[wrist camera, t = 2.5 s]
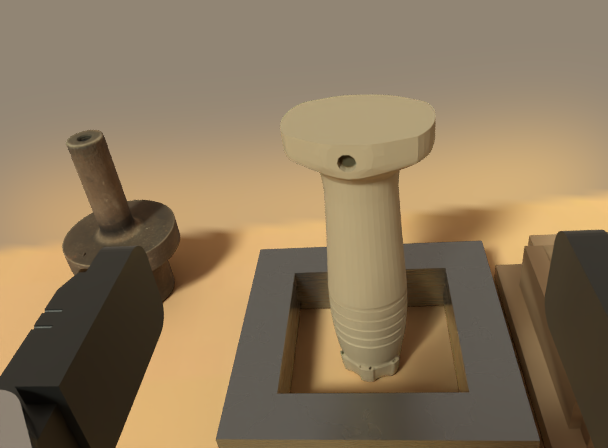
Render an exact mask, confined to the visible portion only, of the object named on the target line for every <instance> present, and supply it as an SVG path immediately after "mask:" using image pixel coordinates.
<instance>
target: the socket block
mask: <svg viewBox="0 0 608 448" xmlns="http://www.w3.org/2000/svg"><path fill="white" fill-rule="evenodd" d="M403 248H404V258H405V268H406V278H407V306H433V305H444V308H445V314H446V320H447V325H448V331H449V337H450V343H451V348H452V354H453V360H454V366H455V371H456V377H457V383H458V389H459V393H296V394H290V389H291V381H292V373H293V365H294V357H295V349H296V341H297V333H298V325H299V317H300V309H317V308H331V307H330V298H329V289H328V266H327V247H313V248H288V249H263V250H260V254H259V258H258V263H257V267H256V271H255V275H254V280H253V284H252V288H251V292H250V297H249V301H248V305H247V309H246V314H245V318H244V322H243V326H242V331H241V335H240V339H239V343H238V347H237V352H236V356H235V360H234V364H233V369H232V373H231V377H230V381H229V386H228V390H227V394H226V398H225V403H224V407H223V411H222V415H221V420H220V424H219V428H218V432H217V437H216V441H217V444H218V447H219V448H539V444H540V439H539V435H538V432H537V429H536V425H535V422H534V418H533V415H532V411H531V408H530V405H529V401H528V398H527V394H526V391H525V387H524V384H523V381H522V377H521V374H520V370H519V367H518V363H517V360H516V357H515V353H514V350H513V346H512V343H511V339H510V336H509V333H508V329H507V326H506V322H505V319H504V315H503V312H502V309H501V305H500V302H499V298H498V295H497V291H496V288H495V285H494V281H493V278H492V274H491V271H490V267H489V264H488V261H487V257H486V254H485V250H484V247H483V243H482V241H462V242H437V243H412V244H403Z"/></svg>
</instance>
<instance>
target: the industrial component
mask: <svg viewBox="0 0 608 448" xmlns="http://www.w3.org/2000/svg"><path fill="white" fill-rule="evenodd" d="M66 145H67V147H68V150H69V152H70V154H71V157H72V160H73V162H74V165H75V167H76V170H77V173H78V175H79V178H80V180H81V182H82V185H83V188H84V190H85V193H86V195H87V198H88V200H89V203H90V205H91V208H92V210H93V213H91V214H90V215H88V216H86V217H84V218H83V219H82V220H81V221H79V222H78V223H77V224H76V225H75V226H73V227H72V229H71V230H70V231H69V232H68V233H67V235H66V237H65V239H64V241H63V245H62V248H63V253H64V255H65V257H66V260H67V262H68V264H69V266H70V268H71V271H72V272H73V274H74V275H76V274H77V273H78V272H86V271H87V270H88V268H89V266H90V265H91V263H92V261H93V260H94V258H95V257H96V255H97V253H98V252H99V251H100V249H102V248H103V247H120V246H141V247H142V248H143V249H144V250H145V252H146V254H147V257H148V260H149V263H150V266H151V269H152V272H153V275H154V278H155V281H156V284H157V287H158V290H159V293H160V296H161V300H162V301H163V300H165V299H166V298H167V297H168V296H169V294H170V293H171V292H172V290H173V288H174V283H175V280H174V276H173V274H172V270H171V267H170V264H169V261H168V259H169V258H170V257H171V256H172V255H173V254H174V252H175V251H176V249H177V247H178V245H179V242H180V233H179V230H178V226H177V223H176V220H175V216H174V214H173V212H172V210H171V209H170V208H169V207H167V206H166V205H163V204H162V203H159V202H155V201H148V200H134V201H127V200H126V197H125V195H124V192H123V189H122V185H121V183H120V180H119V178H118V175H117V172H116V169H115V166H114V163H113V161H112V157H111V155H110V152H109V149H108V145H107V143H106V140H105V137H104V135H103V133H102V132H101V131H99V130H87V131H83V132H80V133H78V134H75V135H73V136H71V137H70V138H69V139H68V140H67V142H66Z"/></svg>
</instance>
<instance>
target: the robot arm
mask: <svg viewBox="0 0 608 448" xmlns="http://www.w3.org/2000/svg"><path fill="white" fill-rule="evenodd" d="M545 314H546V320H547V324H548V327H549V330H550V333H551V335H552V338H553V341H554V343H555V346H556V348H557V351H558V354H559V356H560V359H561V361H562V364H563V367H564V369H565V372H566V375H567V377H568V380H569V382H570V385H571V388H572V390H573V393H574V395H575V398H576V401H577V403H578V406H579V409H580V411H581V414H582V416H583V419H584V422H585V424H586V427H587V429H588V432H589V435H590V437H591V440H592V443H593V445H594V448H608V234H607V232H606V231H604V230H580V231H560V232H558V233H557V235H556V238H555V241H554V247H553V252H552V258H551V263H550V269H549V275H548V280H547V286H546V291H545ZM163 321H164V310H163V303H162V300H161V296H160V293H159V290H158V287H157V284H156V281H155V278H154V275H153V272H152V269H151V266H150V263H149V260H148V257H147V254H146V252H145V250H144V249H143V248H142V247H141V246H120V247H103V248H102V249H100V251H99V252H98V253H97V255H96V257H95V258H94V260H93V261H92V263H91V265H90V266H89V268H88V270H87V271H86V272H78V273H77V274H76V275H75V276H74V277H72V278H71V279H70V280H69V281H68V282H66V283H65V284H64V285H63V286H62V287H60V288H59V289H58V290H57V291H56V293H55V294H54V296H53V297H52V299H51V300H50V302H49V303H48V305H47V307H46V308H45V313H42V314H41V316H40V317H39V319H38V320H37V322H36V323H35V325H34V329H33V330H31V331H30V332H29V334H28V335H27V337H26V338H25V340H24V341H23V343H22V344H21V346H20V347H19V349H18V350H17V352H16V353H15V355H14V356H13V358H12V359H11V361H10V363H9V364H8V366H7V367H6V369H5V370H4V372H3V373H2V375H1V376H0V448H115V447H116V445H117V442H118V440H119V437H120V435H121V432H122V430H123V427H124V425H125V422H126V420H127V417H128V415H129V412H130V410H131V407H132V405H133V402H134V400H135V397H136V395H137V392H138V390H139V387H140V385H141V382H142V379H143V377H144V374H145V372H146V369H147V367H148V364H149V362H150V359H151V357H152V354H153V352H154V349H155V347H156V344H157V342H158V339H159V337H160V334H161V331H162V327H163Z"/></svg>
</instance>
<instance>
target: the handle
mask: <svg viewBox="0 0 608 448" xmlns="http://www.w3.org/2000/svg"><path fill="white" fill-rule="evenodd" d="M280 130H281V138H282V143H283V148H284V151H285V154H286V156H287V157H288V159H289V160H291V161H293V162H295V163H297V164H299V165H302V166H304V167H306V168H309V169H311V170H314V171H317V172H319V173H320V174H321V178H322V183H323V188H324V198H325V216H326V234H327V266H328V289H329V298H330V307H331V313H332V317H333V323H334V327H335V331H336V334H337V338H338V341H339V343H340V346H341V348H342V351H340V352H341V356H342V360H343V363H344V365H345V368H346V369H347V370H350V371H353V372H355V373H357V374H358V375H359V376H360V377H361V379H362V380H363V381H367V382H374V381H375V380H376V379H377V378H380V377H383V376H388V375H390V376H392V375H394V374H395V373H396V372H397V370H398V366H399V356H400V353H401V347H402V341H403V337H404V333H405V326H406V315H407V278H406V268H405V258H404V248H403V238H402V227H401V214H400V201H399V187H398V182H399V170H401V169H404V168H407V167H409V166H412V165H414V164H416V163H418V162H420V161H421V160H422V159H424V158H425V157H426V156H427V155H428V154H429V153H430V152H431V150H432V148H433V144H434V140H435V111H434V109H433V107H432V106H431V105H430V104H428V103H426V102H424V101H420V100H415V99H409V98H404V97H399V96H392V95H343V96H335V97H329V98H324V99H318V100H313V101H308V102H303V103H301V104H299V105H297V106H295V107H294V108H292V109H291V110H290V111H289V112H287V113H286V114H285V116H284V117H283V118H282V121H281V123H280Z"/></svg>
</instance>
